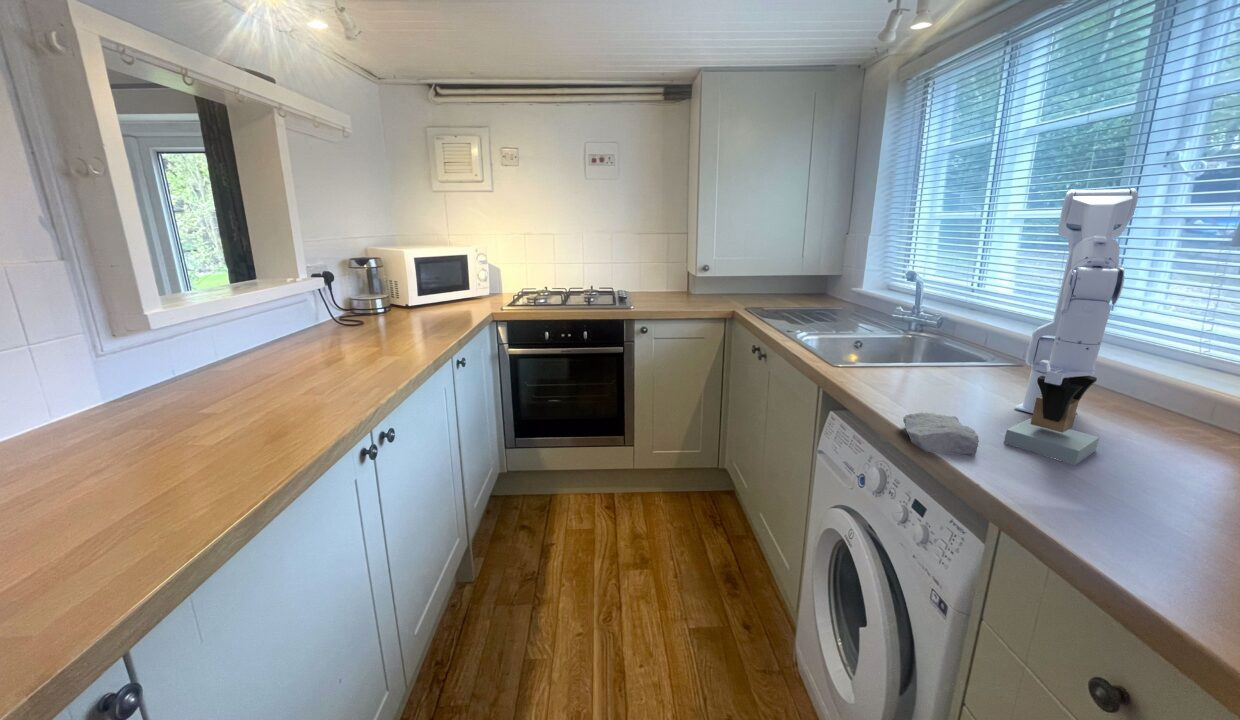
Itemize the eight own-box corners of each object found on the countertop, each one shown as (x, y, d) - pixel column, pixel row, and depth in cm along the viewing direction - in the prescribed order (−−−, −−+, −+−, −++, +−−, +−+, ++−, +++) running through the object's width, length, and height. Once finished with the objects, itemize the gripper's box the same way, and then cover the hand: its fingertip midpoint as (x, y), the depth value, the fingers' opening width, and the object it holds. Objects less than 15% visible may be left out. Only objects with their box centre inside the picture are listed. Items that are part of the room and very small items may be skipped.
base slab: (1025, 432, 95) (1029, 418, 94) (1094, 453, 87) (1099, 437, 86) (1003, 444, 89) (1006, 429, 89) (1074, 467, 81) (1079, 450, 81)
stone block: (918, 462, 86) (984, 457, 84) (916, 436, 85) (983, 430, 83) (895, 436, 97) (952, 431, 95) (893, 413, 96) (951, 407, 94)
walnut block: (1040, 418, 90) (1046, 392, 89) (1072, 427, 87) (1079, 400, 85) (1030, 424, 88) (1036, 397, 86) (1062, 432, 84) (1069, 404, 83)
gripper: (1063, 331, 90) (1044, 402, 93) (1030, 340, 82) (1012, 417, 86) (1115, 339, 84) (1093, 414, 88) (1086, 350, 76) (1063, 431, 80)
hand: (1056, 416), depth 86 cm, fingers closed on walnut block, 4 cm apart
